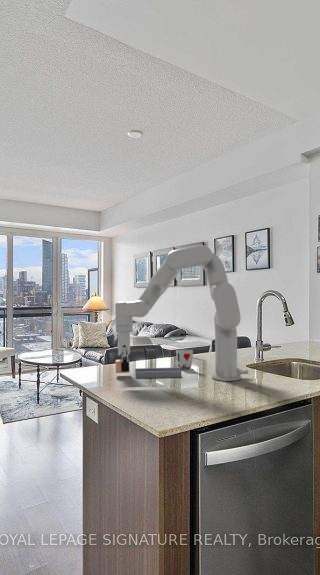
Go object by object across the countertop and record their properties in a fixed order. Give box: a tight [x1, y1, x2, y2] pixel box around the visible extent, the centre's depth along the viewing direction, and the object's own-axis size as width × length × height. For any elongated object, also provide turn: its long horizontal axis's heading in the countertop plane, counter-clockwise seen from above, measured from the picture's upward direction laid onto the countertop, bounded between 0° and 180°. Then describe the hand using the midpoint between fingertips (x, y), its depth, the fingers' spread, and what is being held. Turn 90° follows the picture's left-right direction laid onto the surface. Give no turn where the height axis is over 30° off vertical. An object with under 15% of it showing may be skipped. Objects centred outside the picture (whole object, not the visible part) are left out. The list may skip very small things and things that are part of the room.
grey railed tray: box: [134, 366, 182, 379], centre depth 168 cm, size 20×9×4 cm, turn 94°
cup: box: [175, 349, 194, 371], centre depth 183 cm, size 8×8×10 cm
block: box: [114, 358, 131, 374], centre depth 166 cm, size 5×5×6 cm
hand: (125, 369), depth 166 cm, fingers closed on block, 5 cm apart
